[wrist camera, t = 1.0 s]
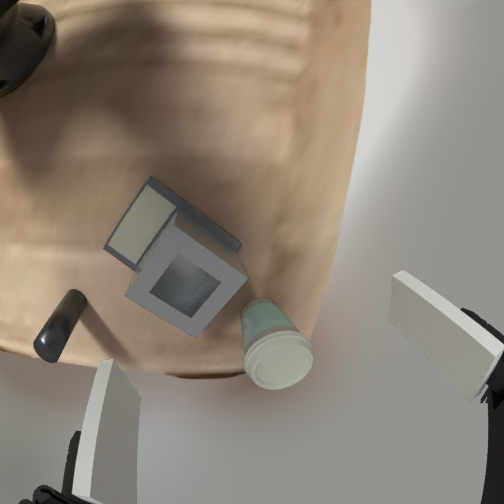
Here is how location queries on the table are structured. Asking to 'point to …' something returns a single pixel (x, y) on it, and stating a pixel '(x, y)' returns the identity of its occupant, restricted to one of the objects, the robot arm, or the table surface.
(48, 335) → the black tapered cylinder
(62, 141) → the table surface
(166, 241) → the square frame housing
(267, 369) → the coffee cup
